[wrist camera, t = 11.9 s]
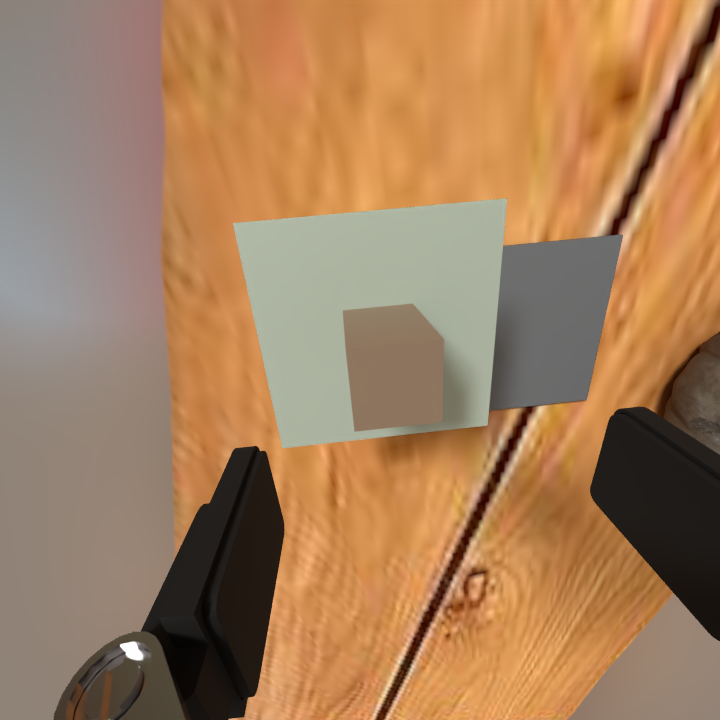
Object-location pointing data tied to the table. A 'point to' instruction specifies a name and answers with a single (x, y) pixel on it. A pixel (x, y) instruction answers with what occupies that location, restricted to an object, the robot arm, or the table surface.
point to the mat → (550, 319)
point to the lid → (376, 318)
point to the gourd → (698, 396)
